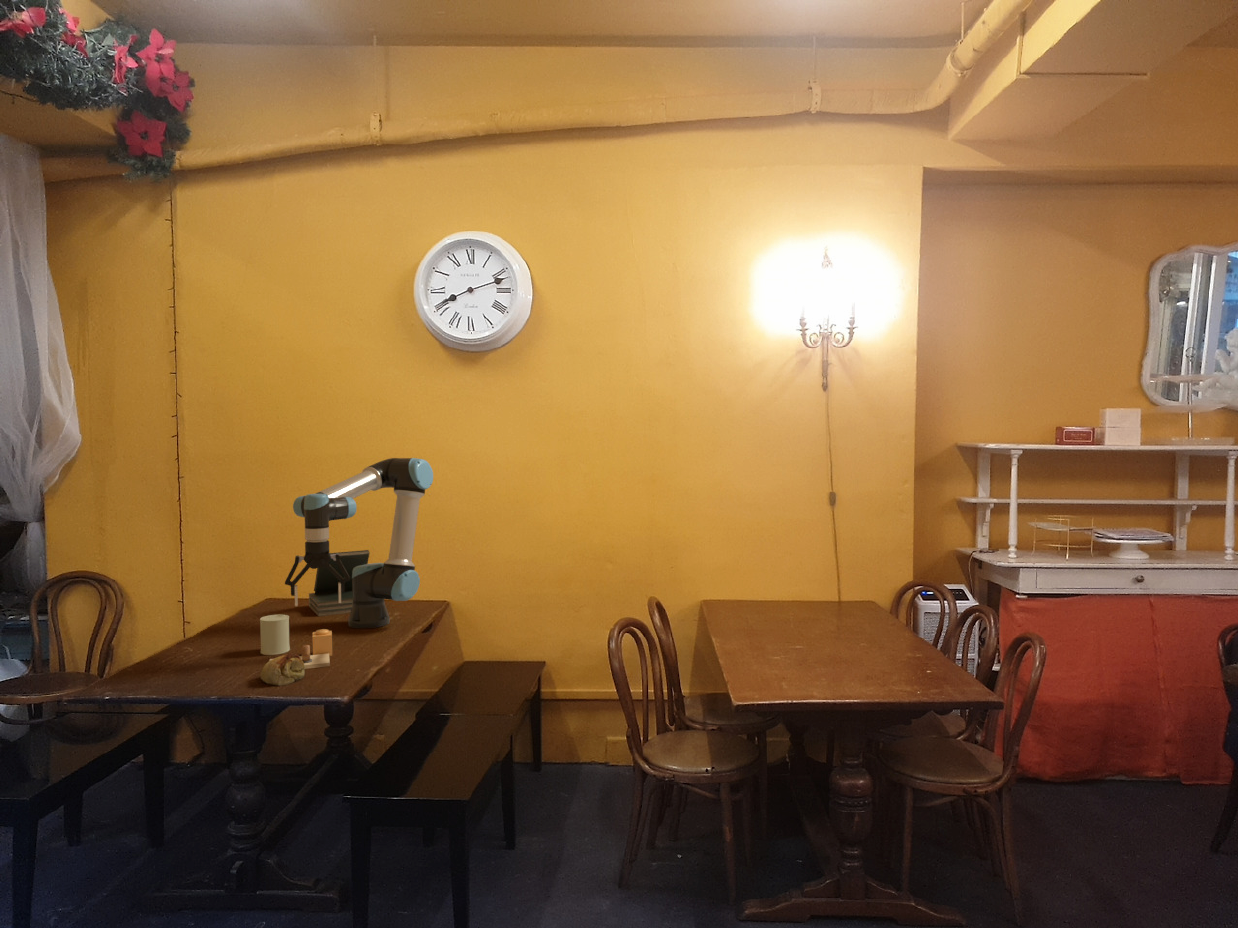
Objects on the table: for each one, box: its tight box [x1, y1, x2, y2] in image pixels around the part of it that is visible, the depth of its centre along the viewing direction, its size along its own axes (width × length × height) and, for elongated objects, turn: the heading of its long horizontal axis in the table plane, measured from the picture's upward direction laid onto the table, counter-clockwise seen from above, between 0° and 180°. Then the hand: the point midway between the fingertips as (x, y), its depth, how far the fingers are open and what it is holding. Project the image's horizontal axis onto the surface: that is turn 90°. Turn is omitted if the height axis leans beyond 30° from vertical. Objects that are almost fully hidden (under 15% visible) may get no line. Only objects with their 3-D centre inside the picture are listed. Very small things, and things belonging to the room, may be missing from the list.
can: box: [259, 614, 291, 656], centre depth 270 cm, size 9×9×12 cm
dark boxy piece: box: [308, 549, 371, 617], centre depth 333 cm, size 23×20×25 cm
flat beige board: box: [269, 644, 331, 670], centre depth 255 cm, size 18×11×6 cm, turn 111°
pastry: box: [259, 653, 306, 687], centre depth 241 cm, size 14×12×8 cm
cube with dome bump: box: [312, 628, 333, 657], centre depth 266 cm, size 6×6×8 cm
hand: (318, 603), depth 266 cm, fingers open, 13 cm apart
